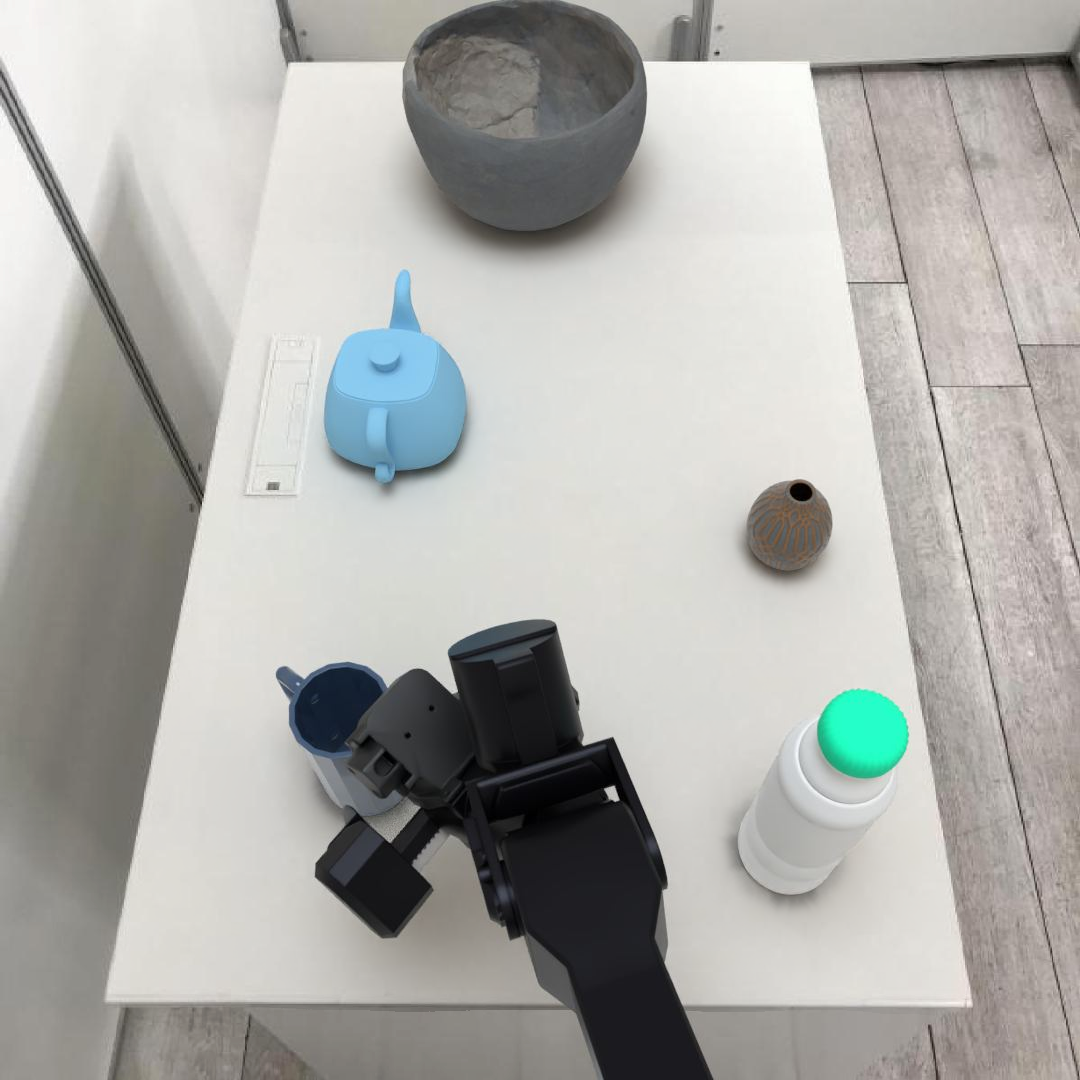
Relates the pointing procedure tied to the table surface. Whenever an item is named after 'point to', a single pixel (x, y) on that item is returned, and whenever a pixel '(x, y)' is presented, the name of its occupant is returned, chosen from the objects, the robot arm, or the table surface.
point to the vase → (789, 525)
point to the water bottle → (823, 791)
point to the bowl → (525, 109)
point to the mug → (334, 727)
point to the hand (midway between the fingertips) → (395, 757)
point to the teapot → (394, 395)
